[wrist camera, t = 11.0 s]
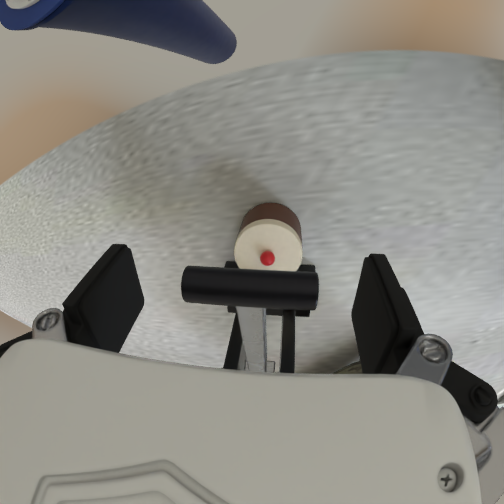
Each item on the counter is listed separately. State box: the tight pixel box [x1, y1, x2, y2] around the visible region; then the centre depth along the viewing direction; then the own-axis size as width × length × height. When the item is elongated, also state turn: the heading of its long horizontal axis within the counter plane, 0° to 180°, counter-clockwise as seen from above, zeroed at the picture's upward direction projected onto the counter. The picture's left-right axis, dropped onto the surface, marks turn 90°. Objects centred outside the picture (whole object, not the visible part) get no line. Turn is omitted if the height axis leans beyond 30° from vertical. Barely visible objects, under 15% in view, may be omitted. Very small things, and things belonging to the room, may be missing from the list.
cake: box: [234, 203, 303, 271], centre depth 25 cm, size 6×6×6 cm
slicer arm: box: [181, 266, 319, 372], centre depth 16 cm, size 15×5×2 cm, turn 1°
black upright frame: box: [221, 261, 315, 373], centre depth 25 cm, size 6×9×14 cm, turn 91°
